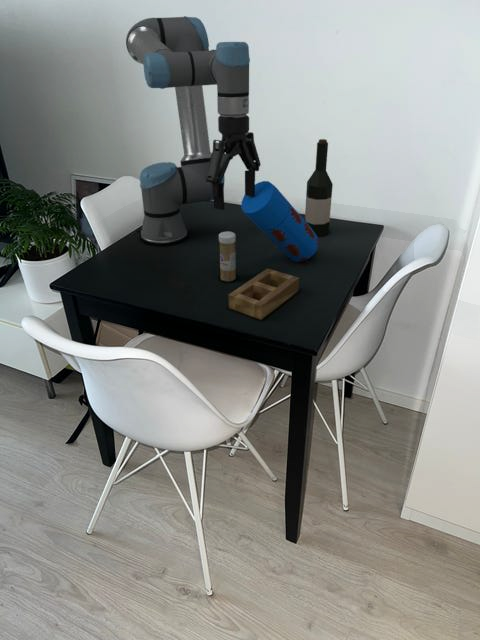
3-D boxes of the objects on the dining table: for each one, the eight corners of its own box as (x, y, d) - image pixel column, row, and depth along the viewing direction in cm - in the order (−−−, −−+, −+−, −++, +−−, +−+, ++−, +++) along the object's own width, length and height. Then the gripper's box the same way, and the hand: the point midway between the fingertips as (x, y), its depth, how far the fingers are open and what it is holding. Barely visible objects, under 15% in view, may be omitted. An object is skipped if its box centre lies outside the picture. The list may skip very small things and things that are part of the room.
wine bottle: (330, 228, 174) (338, 137, 158) (326, 237, 167) (333, 144, 151) (306, 225, 176) (312, 136, 160) (301, 234, 170) (306, 142, 154)
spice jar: (217, 279, 144) (215, 234, 136) (227, 273, 147) (226, 229, 139) (229, 283, 141) (227, 238, 134) (239, 277, 144) (239, 233, 137)
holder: (228, 308, 130) (228, 294, 128) (267, 281, 142) (267, 268, 140) (261, 320, 125) (261, 306, 123) (298, 290, 137) (299, 277, 135)
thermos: (319, 256, 147) (273, 204, 130) (287, 267, 153) (239, 219, 136) (319, 227, 153) (274, 174, 136) (288, 239, 159) (242, 189, 142)
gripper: (213, 123, 111) (217, 217, 121) (274, 109, 128) (272, 192, 139) (187, 120, 115) (193, 212, 125) (250, 107, 132) (250, 188, 143)
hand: (235, 202), depth 132 cm, fingers open, 13 cm apart
